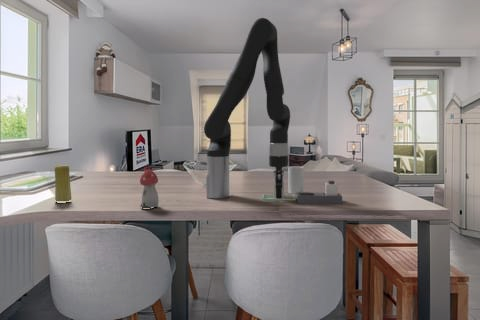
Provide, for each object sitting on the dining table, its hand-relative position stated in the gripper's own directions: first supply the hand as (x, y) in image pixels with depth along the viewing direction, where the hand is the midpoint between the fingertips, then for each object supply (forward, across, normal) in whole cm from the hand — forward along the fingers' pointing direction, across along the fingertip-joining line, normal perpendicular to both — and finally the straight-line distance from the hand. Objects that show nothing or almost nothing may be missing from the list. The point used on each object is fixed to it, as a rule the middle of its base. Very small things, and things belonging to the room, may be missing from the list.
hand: (278, 197), depth 157 cm
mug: (+2, -15, +8) cm, 17 cm away
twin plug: (0, +7, +20) cm, 21 cm away
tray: (+1, 0, 0) cm, 1 cm away
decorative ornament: (+2, +15, -48) cm, 50 cm away
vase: (+2, +7, -85) cm, 85 cm away
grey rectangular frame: (+1, +7, +15) cm, 17 cm away
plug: (+1, 0, 0) cm, 1 cm away
